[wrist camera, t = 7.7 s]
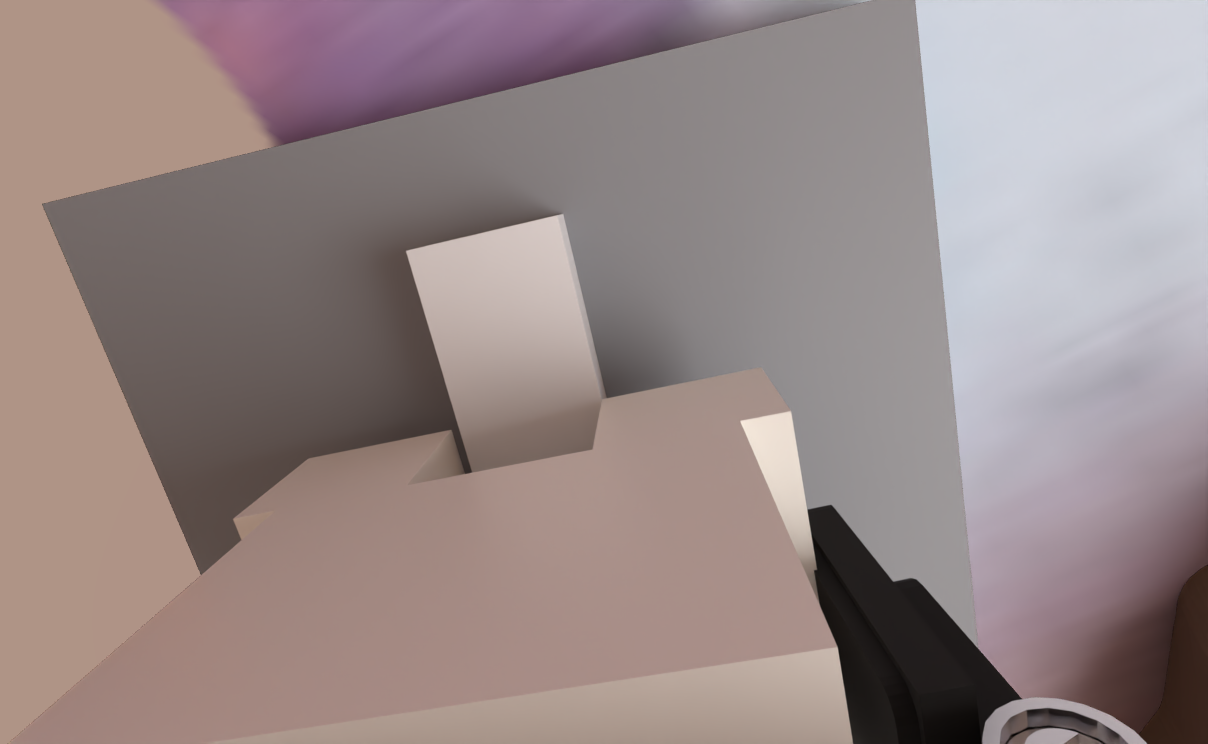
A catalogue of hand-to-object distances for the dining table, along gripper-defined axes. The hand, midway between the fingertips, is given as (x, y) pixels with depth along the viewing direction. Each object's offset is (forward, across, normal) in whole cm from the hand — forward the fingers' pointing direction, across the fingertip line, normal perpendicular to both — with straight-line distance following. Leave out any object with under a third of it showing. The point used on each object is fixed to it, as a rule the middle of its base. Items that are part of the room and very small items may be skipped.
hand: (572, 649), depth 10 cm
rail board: (+3, 0, 0) cm, 3 cm away
